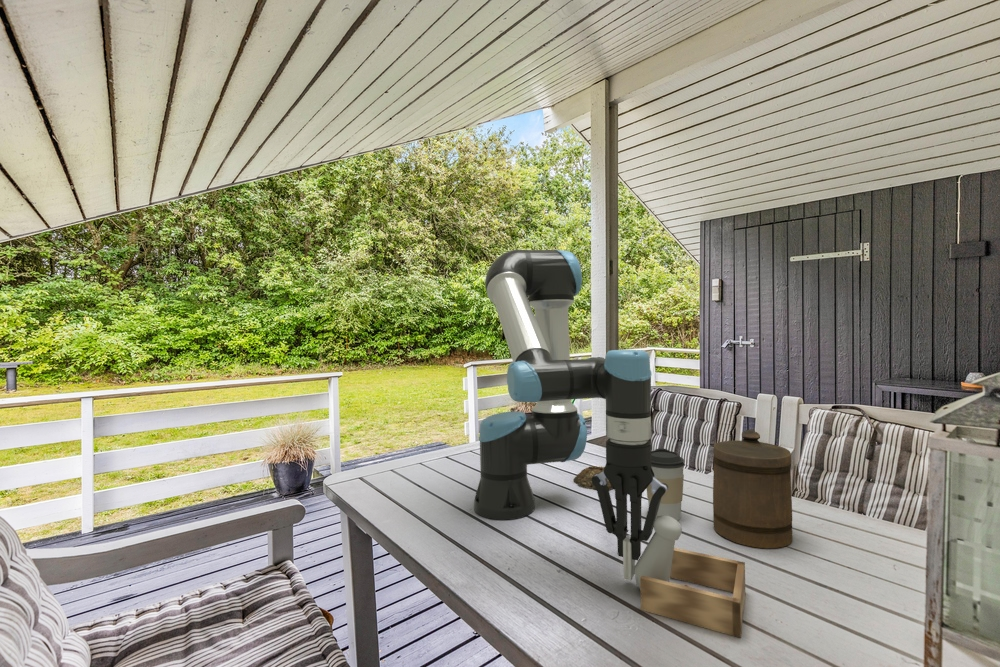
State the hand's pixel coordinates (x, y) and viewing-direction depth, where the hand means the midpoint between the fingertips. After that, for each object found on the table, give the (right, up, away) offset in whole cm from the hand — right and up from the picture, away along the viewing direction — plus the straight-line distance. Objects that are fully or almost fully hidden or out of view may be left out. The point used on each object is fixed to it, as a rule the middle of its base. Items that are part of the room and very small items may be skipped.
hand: (629, 576), depth 80 cm
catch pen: (+9, -2, -5) cm, 11 cm away
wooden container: (+31, -1, +19) cm, 37 cm away
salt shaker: (+3, -1, -1) cm, 3 cm away
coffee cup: (+16, -1, +29) cm, 33 cm away
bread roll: (+5, -2, +53) cm, 54 cm away
